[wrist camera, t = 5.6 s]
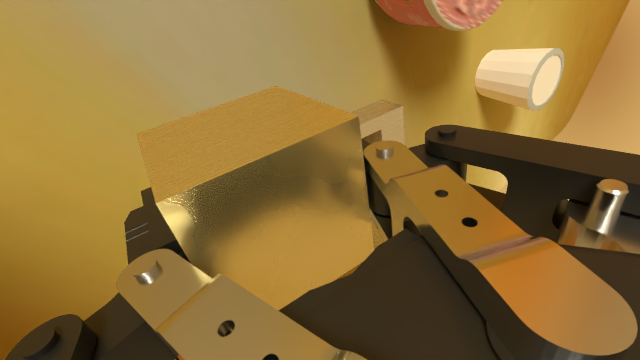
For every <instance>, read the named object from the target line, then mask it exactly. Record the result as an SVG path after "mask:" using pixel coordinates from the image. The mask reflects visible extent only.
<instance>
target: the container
mask: <svg viewBox="0 0 640 360" xmlns="http://www.w3.org/2000/svg"><path fill="white" fill-rule="evenodd" d="M502 1H503V0H375V2H376V3H377V4H378V5H379V6H380V7H381V9H382V10H383V11H384V12H385V13H386V14H388V15H389V16H391V17H392V18H393V19H395V20H397V21H398V22H400V23H404V24H408V25H420V26H434V27H444V28H446V29H450V30H454V31H463V30H471V29H473V28H475V27H478V26H480V25H481V24H482V23H484V22H485V21H486V20H488V19H489V18H490V17H491V16H492V14H493V13H494V12H495V11H496V10H497V9H498V7H499V6H500V4H501V3H502Z"/></svg>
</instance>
